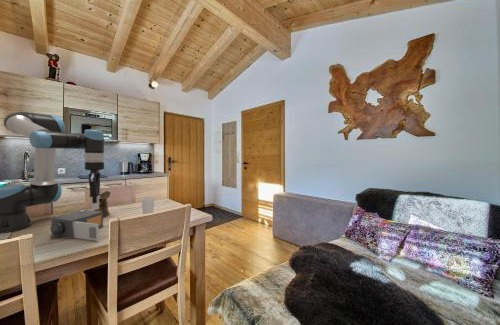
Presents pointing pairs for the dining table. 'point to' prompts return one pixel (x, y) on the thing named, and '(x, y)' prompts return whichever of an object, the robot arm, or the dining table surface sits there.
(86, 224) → the side door
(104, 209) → the brown irregular piece
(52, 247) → the dining table surface
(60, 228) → the camera housing
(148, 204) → the drinking glass
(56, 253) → the dining table surface
